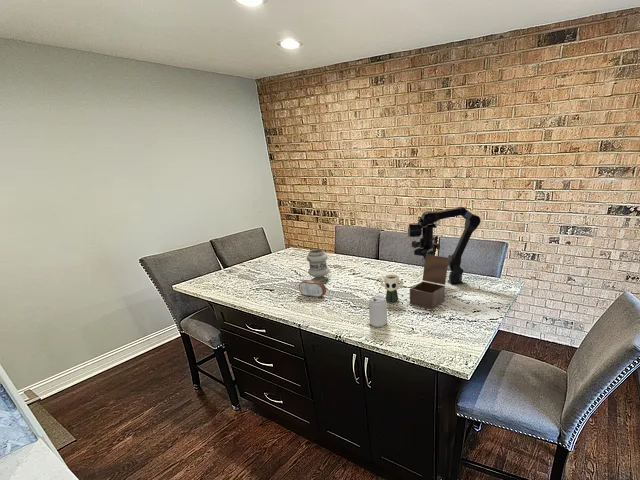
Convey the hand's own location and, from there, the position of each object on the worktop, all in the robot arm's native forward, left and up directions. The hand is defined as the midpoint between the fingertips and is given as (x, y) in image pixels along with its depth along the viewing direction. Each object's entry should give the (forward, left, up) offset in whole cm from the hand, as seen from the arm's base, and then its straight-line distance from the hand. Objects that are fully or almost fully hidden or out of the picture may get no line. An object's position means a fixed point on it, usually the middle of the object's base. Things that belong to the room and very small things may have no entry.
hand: (427, 264), depth 185 cm
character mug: (+25, +15, -12) cm, 32 cm away
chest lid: (+3, +18, +3) cm, 19 cm away
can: (+38, +37, -12) cm, 55 cm away
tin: (+62, -6, -12) cm, 64 cm away
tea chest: (+9, +23, -12) cm, 27 cm away
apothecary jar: (+56, -30, -12) cm, 65 cm away
